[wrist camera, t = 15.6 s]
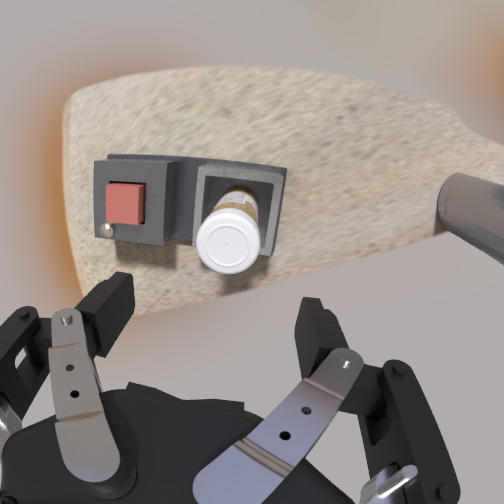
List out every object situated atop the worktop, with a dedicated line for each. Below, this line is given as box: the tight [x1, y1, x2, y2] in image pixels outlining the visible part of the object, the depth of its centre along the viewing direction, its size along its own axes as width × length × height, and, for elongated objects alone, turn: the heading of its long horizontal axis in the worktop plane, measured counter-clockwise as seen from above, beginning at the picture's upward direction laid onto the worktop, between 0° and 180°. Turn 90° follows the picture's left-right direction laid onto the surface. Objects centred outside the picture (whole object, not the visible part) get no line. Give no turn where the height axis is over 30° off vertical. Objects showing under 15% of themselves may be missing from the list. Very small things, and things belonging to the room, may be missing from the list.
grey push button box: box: [93, 154, 287, 256], centre depth 29 cm, size 22×10×6 cm, turn 83°
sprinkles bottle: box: [196, 187, 260, 274], centre depth 25 cm, size 5×5×14 cm
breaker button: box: [106, 181, 146, 225], centre depth 28 cm, size 4×4×5 cm
